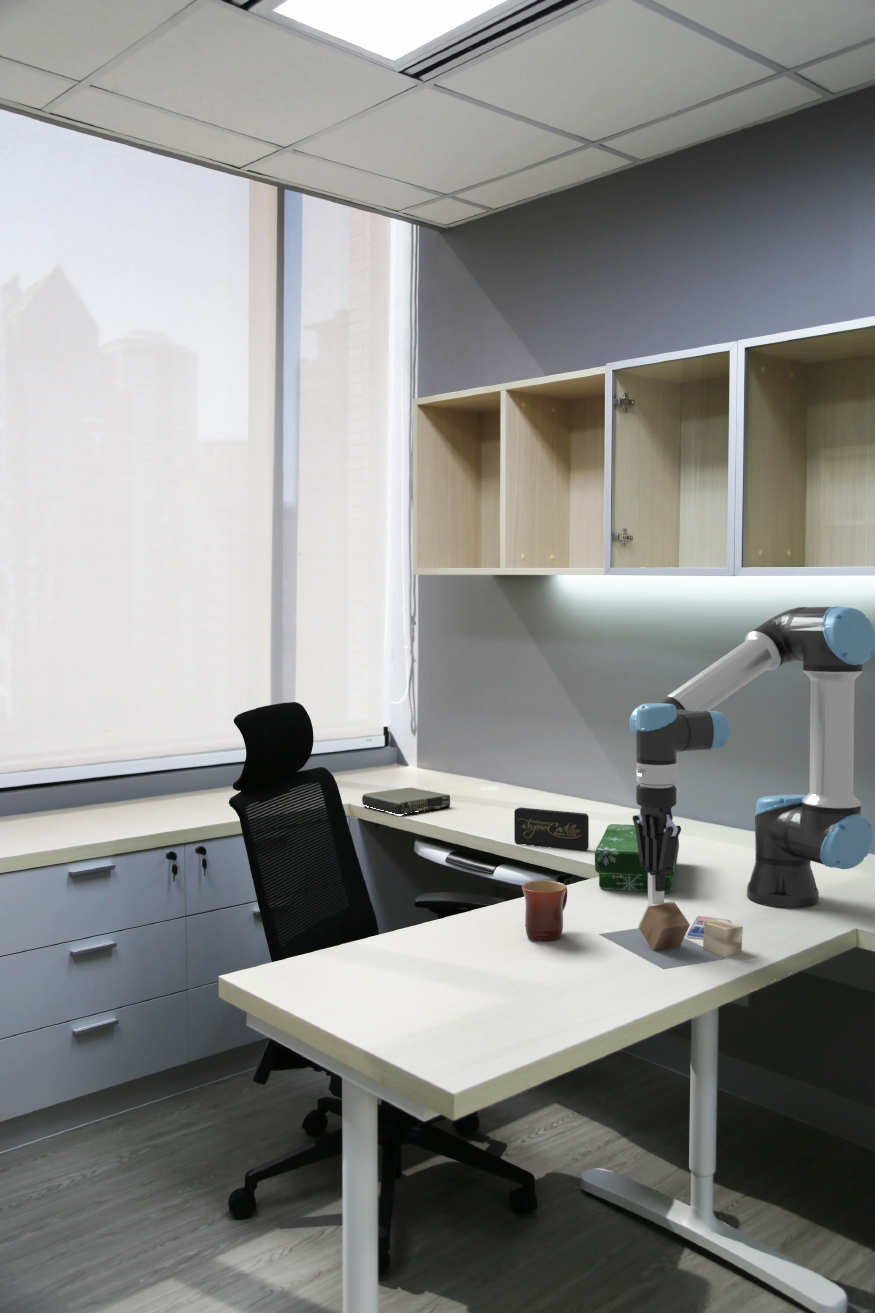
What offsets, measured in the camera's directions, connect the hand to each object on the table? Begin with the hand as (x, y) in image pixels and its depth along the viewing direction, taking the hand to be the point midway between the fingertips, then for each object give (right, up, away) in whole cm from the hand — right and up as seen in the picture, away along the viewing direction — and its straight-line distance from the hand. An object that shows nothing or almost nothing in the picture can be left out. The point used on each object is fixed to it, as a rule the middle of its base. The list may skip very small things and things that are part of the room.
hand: (656, 906), depth 202 cm
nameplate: (-11, -4, +84) cm, 85 cm away
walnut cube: (0, -2, 0) cm, 2 cm away
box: (+7, -6, +53) cm, 53 cm away
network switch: (-52, -2, +141) cm, 151 cm away
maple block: (+12, -7, -4) cm, 14 cm away
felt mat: (+1, -8, -1) cm, 8 cm away
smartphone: (+13, -8, +9) cm, 17 cm away
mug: (-20, -8, +7) cm, 22 cm away
